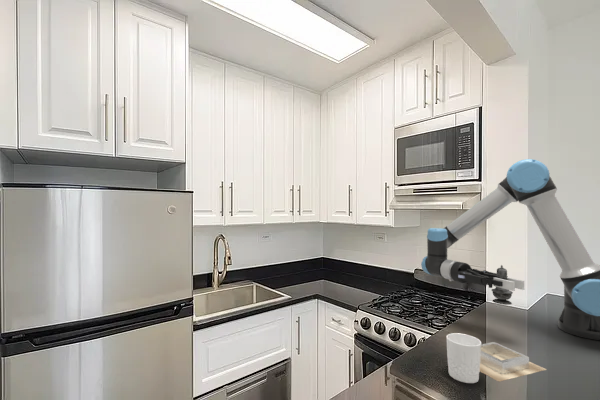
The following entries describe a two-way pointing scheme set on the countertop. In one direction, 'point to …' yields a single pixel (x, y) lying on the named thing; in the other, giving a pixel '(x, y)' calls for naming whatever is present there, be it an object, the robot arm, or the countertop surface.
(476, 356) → the white cup
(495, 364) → the collar
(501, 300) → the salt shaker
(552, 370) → the countertop surface
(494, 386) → the countertop surface
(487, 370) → the flange board
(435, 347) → the countertop surface
